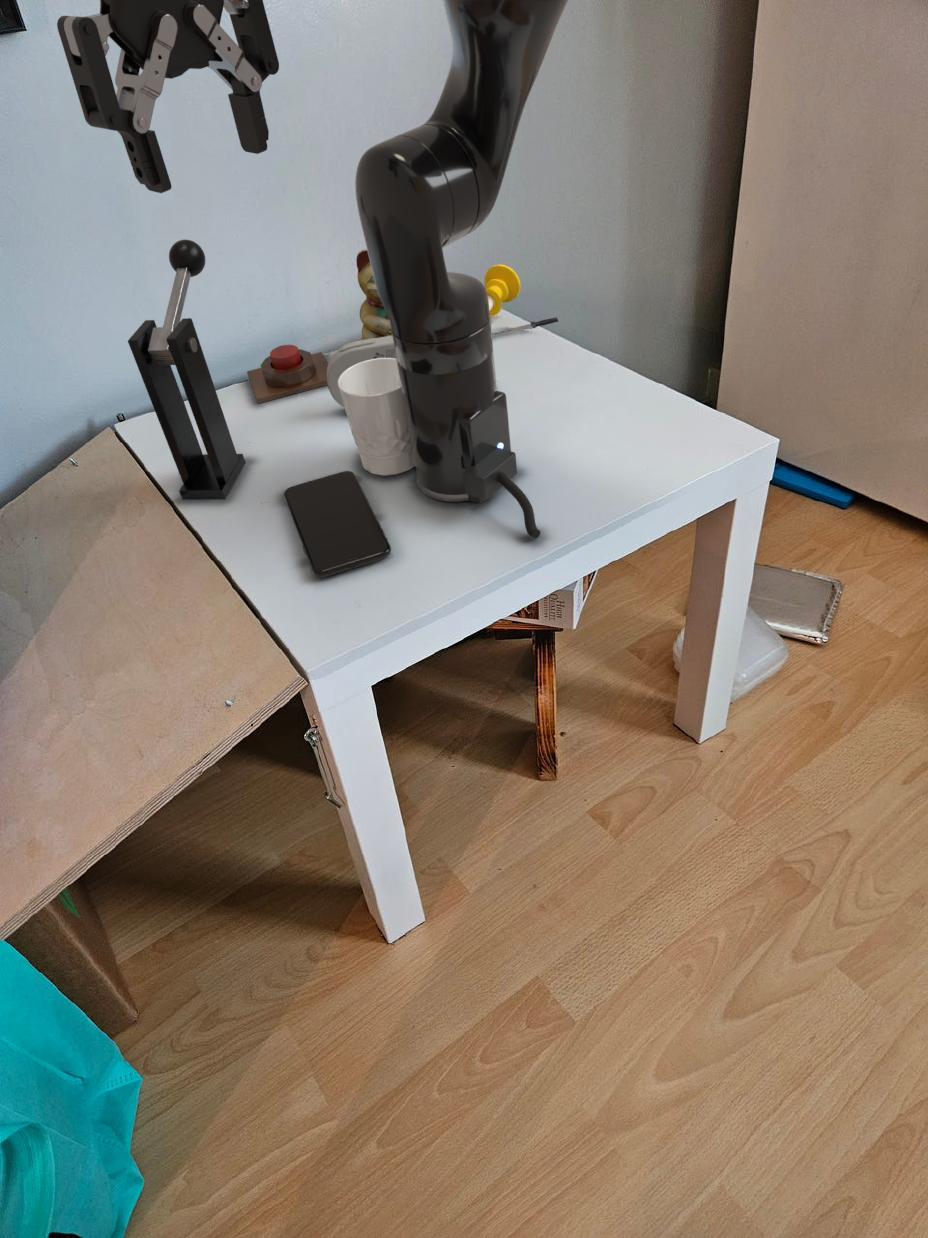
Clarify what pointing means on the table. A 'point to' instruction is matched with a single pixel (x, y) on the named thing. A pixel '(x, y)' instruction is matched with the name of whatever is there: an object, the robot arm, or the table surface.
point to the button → (285, 357)
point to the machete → (527, 326)
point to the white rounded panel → (356, 359)
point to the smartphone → (336, 524)
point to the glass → (377, 415)
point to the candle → (501, 286)
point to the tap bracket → (196, 469)
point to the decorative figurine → (371, 302)
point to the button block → (288, 377)
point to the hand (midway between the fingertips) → (209, 169)
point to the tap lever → (176, 296)
